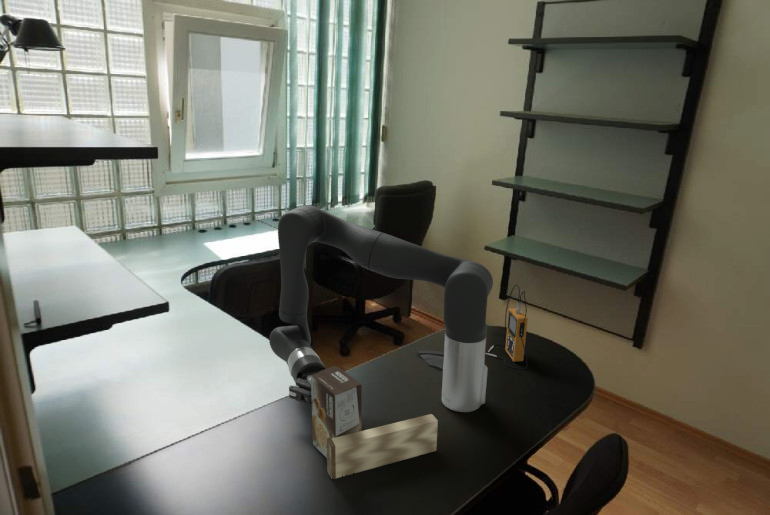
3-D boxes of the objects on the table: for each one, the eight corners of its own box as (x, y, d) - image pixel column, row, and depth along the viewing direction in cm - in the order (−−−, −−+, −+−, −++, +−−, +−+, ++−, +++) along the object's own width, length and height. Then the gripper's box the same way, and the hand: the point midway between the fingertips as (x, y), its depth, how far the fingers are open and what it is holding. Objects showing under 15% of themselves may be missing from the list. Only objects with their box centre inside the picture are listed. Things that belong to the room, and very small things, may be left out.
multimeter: (476, 345, 149) (481, 280, 143) (509, 344, 150) (516, 279, 145) (491, 371, 135) (498, 299, 129) (528, 369, 136) (536, 298, 131)
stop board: (430, 443, 106) (431, 412, 104) (436, 451, 104) (438, 420, 102) (327, 470, 98) (326, 438, 96) (331, 480, 96) (331, 446, 93)
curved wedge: (430, 349, 147) (430, 344, 147) (470, 366, 139) (470, 360, 138) (411, 359, 142) (411, 354, 141) (452, 377, 133) (452, 371, 132)
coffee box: (363, 455, 102) (363, 384, 97) (336, 469, 98) (335, 395, 93) (337, 432, 109) (336, 364, 104) (310, 444, 105) (309, 374, 100)
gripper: (277, 359, 117) (296, 398, 102) (333, 349, 122) (359, 385, 107) (279, 388, 120) (297, 431, 104) (334, 377, 125) (359, 416, 110)
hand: (329, 408), depth 106 cm, fingers closed
